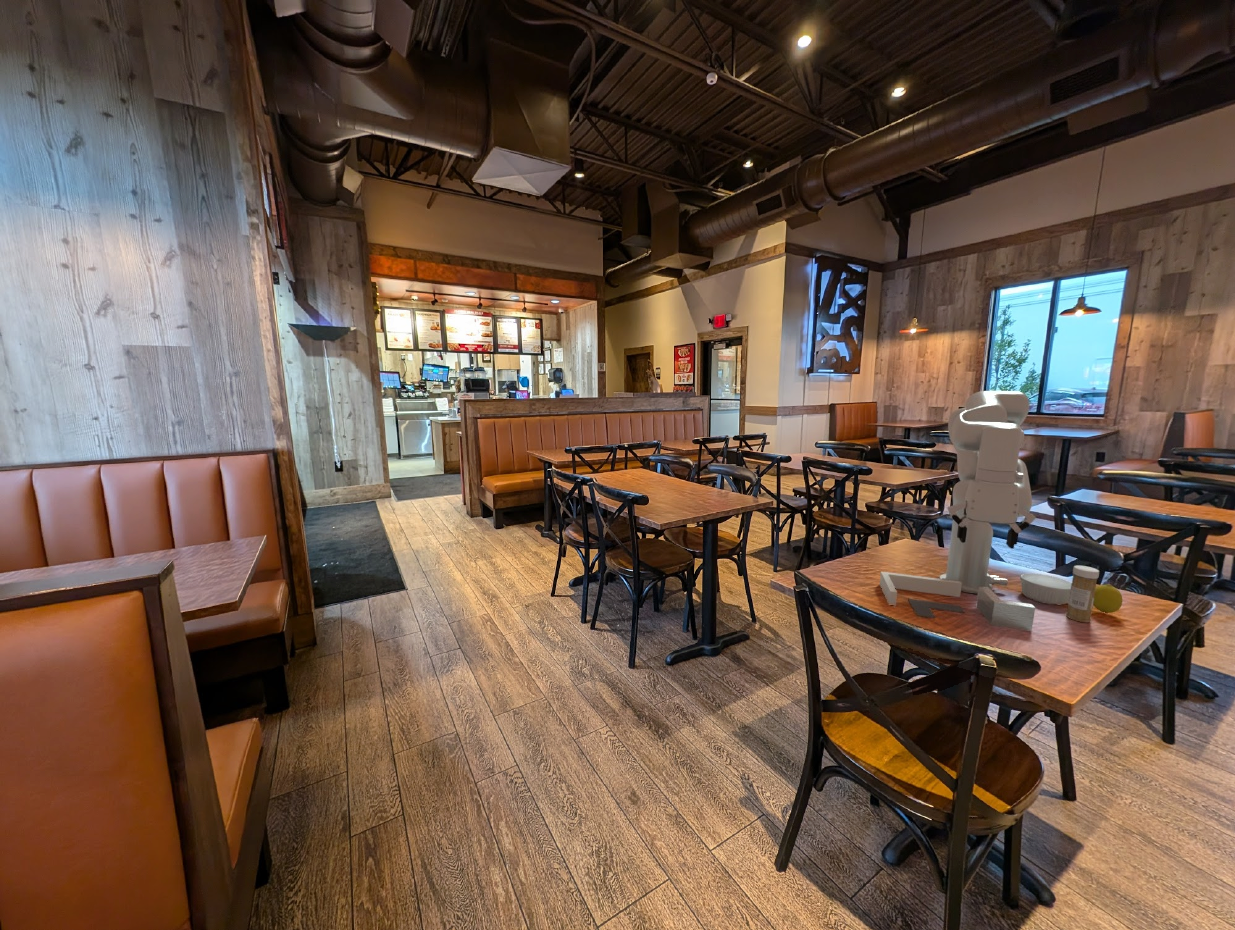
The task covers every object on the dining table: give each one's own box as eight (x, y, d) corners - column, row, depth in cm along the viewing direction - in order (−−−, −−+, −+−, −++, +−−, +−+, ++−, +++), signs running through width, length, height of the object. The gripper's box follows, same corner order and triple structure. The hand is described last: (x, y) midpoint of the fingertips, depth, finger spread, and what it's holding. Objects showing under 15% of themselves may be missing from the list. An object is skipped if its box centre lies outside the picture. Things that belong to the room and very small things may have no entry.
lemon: (1114, 620, 118) (1120, 590, 117) (1085, 611, 123) (1090, 582, 122) (1123, 615, 121) (1128, 586, 119) (1094, 607, 125) (1099, 578, 124)
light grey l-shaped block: (958, 594, 132) (959, 581, 132) (976, 618, 119) (979, 603, 118) (879, 584, 139) (880, 571, 138) (888, 605, 125) (890, 591, 125)
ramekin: (1011, 587, 138) (1014, 570, 137) (1060, 593, 134) (1063, 576, 133) (1027, 603, 128) (1030, 584, 127) (1080, 610, 123) (1083, 591, 123)
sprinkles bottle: (1095, 622, 117) (1104, 570, 115) (1081, 624, 116) (1090, 572, 114) (1073, 613, 122) (1082, 564, 119) (1060, 615, 121) (1069, 565, 118)
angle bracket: (976, 607, 125) (979, 586, 124) (1013, 612, 122) (1016, 591, 121) (991, 625, 115) (994, 602, 114) (1031, 631, 113) (1035, 607, 112)
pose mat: (959, 606, 125) (959, 605, 125) (973, 624, 116) (973, 622, 116) (907, 599, 129) (907, 598, 129) (916, 615, 120) (916, 614, 120)
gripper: (1034, 476, 114) (1024, 544, 117) (949, 471, 121) (941, 534, 124) (1047, 482, 107) (1035, 554, 110) (955, 476, 114) (946, 543, 117)
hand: (985, 543), depth 117 cm, fingers open, 9 cm apart
